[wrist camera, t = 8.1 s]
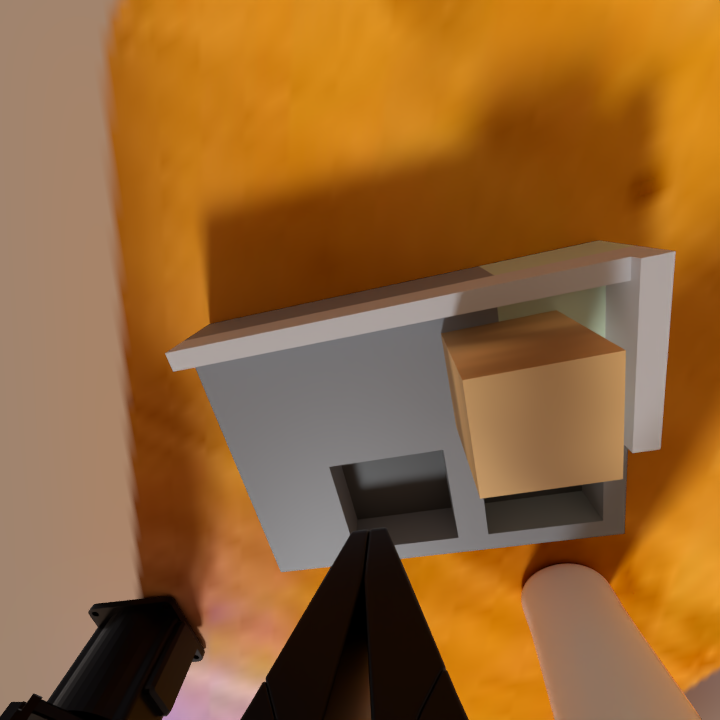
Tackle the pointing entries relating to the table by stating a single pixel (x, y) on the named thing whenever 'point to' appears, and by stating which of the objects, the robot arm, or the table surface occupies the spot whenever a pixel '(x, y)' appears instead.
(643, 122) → the table surface
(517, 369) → the ochre block
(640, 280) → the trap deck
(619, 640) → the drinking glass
